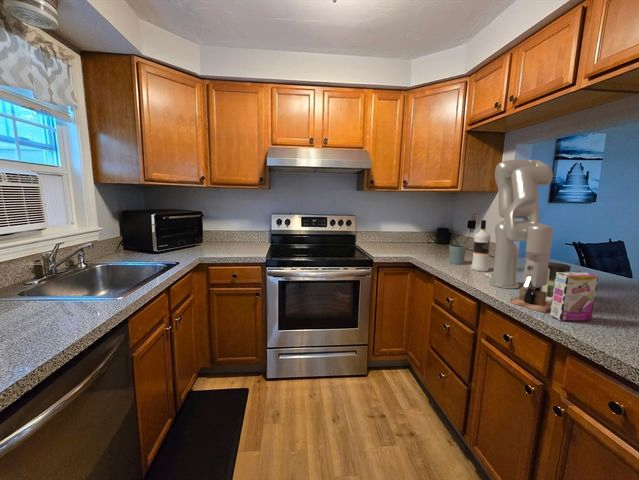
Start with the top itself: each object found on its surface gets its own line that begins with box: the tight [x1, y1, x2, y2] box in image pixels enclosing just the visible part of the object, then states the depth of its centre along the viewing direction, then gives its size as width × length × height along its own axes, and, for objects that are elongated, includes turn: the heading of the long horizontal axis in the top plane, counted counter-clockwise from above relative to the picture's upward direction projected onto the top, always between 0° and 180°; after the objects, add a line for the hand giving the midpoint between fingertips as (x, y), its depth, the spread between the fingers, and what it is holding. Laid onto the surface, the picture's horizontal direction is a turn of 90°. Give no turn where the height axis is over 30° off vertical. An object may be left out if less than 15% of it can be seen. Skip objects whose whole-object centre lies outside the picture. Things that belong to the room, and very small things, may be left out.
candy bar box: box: [549, 271, 599, 322], centre depth 99 cm, size 11×5×16 cm, turn 92°
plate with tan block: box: [509, 286, 551, 313], centre depth 111 cm, size 12×7×6 cm, turn 31°
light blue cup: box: [448, 243, 467, 266], centre depth 186 cm, size 10×10×12 cm
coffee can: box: [542, 261, 572, 298], centre depth 123 cm, size 10×10×14 cm
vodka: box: [470, 219, 492, 273], centre depth 167 cm, size 9×9×30 cm
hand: (532, 301), depth 112 cm, fingers closed on plate with tan block, 4 cm apart
